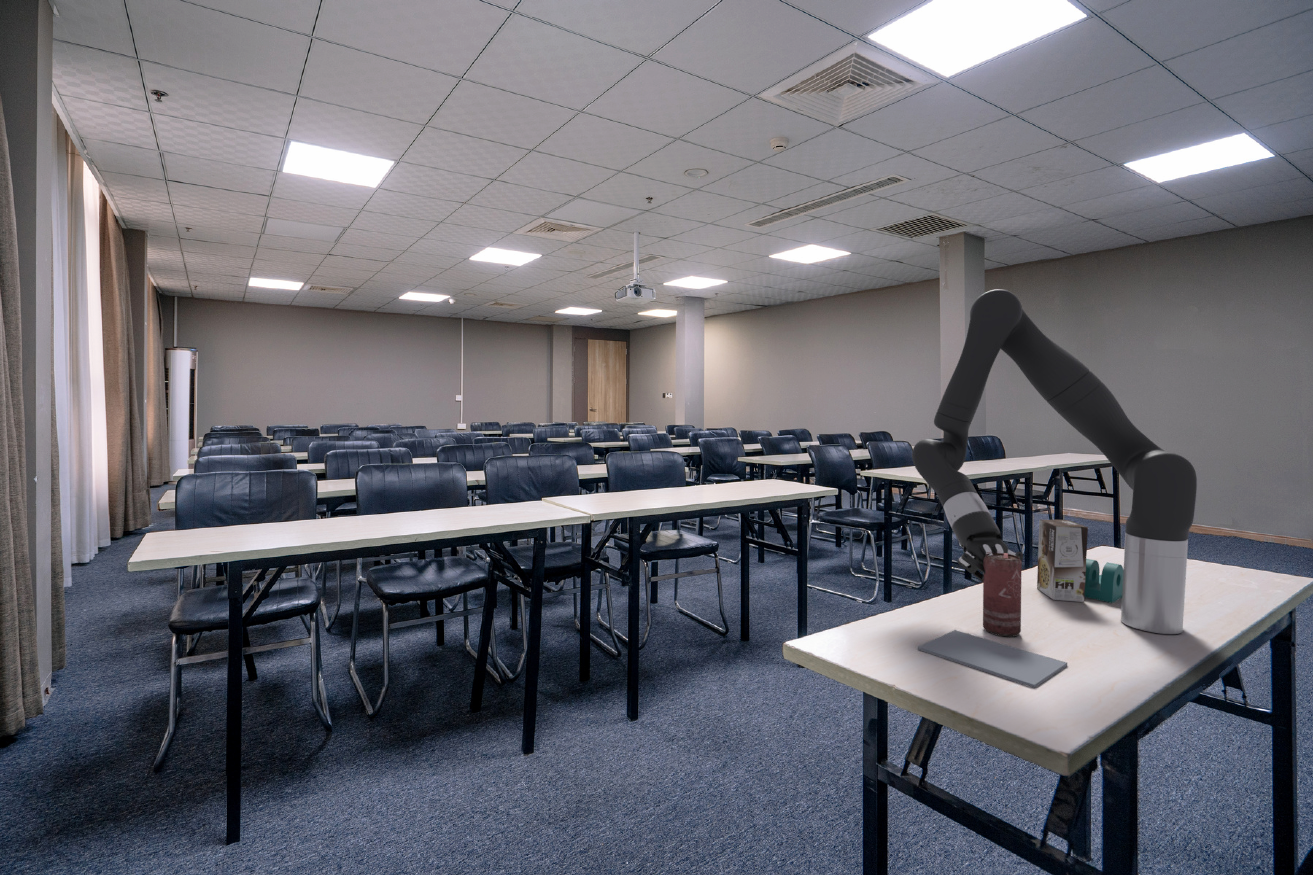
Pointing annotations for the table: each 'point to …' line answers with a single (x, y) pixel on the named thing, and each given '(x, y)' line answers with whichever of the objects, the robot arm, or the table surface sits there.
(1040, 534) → the coffee box
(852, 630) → the table surface
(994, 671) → the mat
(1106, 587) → the bracket
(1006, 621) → the can
